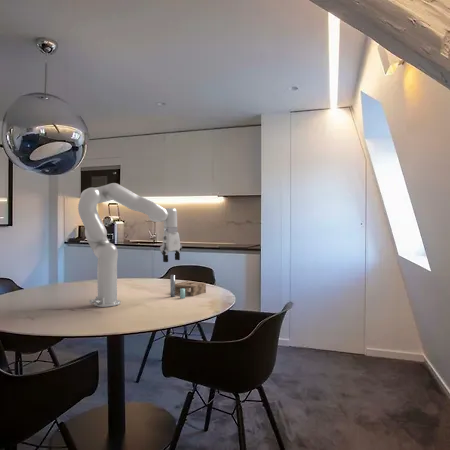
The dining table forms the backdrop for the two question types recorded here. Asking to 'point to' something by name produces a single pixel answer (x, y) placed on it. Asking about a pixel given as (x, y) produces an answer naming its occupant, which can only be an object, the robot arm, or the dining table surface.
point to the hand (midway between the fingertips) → (171, 260)
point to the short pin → (182, 293)
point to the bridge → (195, 287)
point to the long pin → (172, 285)
